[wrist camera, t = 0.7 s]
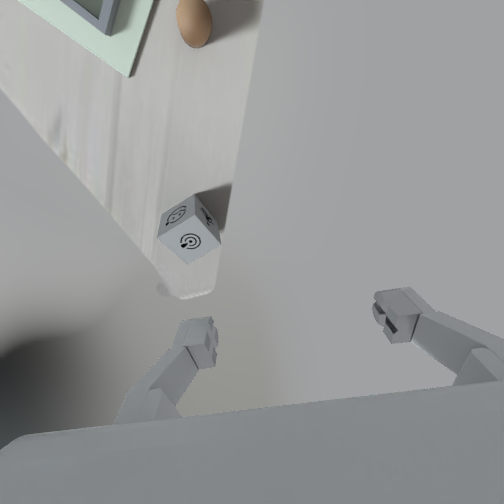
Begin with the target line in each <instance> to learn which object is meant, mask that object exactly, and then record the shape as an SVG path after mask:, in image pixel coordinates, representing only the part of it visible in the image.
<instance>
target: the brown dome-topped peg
mask: <svg viewBox="0 0 504 504" xmlns="http://www.w3.org/2000/svg"><path fill="white" fill-rule="evenodd" d="M176 16H177V23H178V26H179V29H180V32H181V35H182V37H183V39H184V41H185V42H186V43H187V44H188V45H189V46H190V47H192V48H201V47H202V46H204V45H205V43H206V41H207V40H208V38H209V36H210V33H211V30H212V17H211V13H210V10H209V8H208V6H207V4H206V3H205V2H204V0H180V1H179V3H178V6H177V13H176Z"/></svg>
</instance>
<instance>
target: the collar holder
mask: <svg viewBox="0 0 504 504" xmlns="http://www.w3.org/2000/svg"><path fill="white" fill-rule="evenodd" d="M18 1H19V2H21V3H22V4H23V5H25V6H26V7H28V8H29V9H31V10H32V11H33V12H35V13H36V14H38V15H39V16H40V17H42V18H43V19H45V20H46V21H48V22H49V23H50V24H52V25H53V26H55V27H56V28H57V29H59V30H60V31H62V32H63V33H65V34H66V35H67V36H69V37H70V38H72V39H73V40H74V41H76V42H77V43H79V44H80V45H82V46H83V47H84V48H86V49H87V50H89V51H90V52H91V53H93V54H94V55H96V56H97V57H99V58H100V59H101V60H103V61H104V62H106V63H107V64H108V65H110V66H111V67H113V68H114V69H116V70H117V71H118V72H120V73H121V74H123V75H124V76H126V77H127V78H129V76H130V73H131V70H132V67H133V64H134V61H135V58H136V55H137V52H138V49H139V46H140V43H141V40H142V37H143V34H144V31H145V27H146V24H147V21H148V18H149V15H150V12H151V9H152V6H153V3H154V0H18Z"/></svg>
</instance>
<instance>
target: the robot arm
mask: <svg viewBox="0 0 504 504" xmlns="http://www.w3.org/2000/svg"><path fill="white" fill-rule="evenodd" d="M374 299H375V300H376V302H375V303H374V304H373V308H372V310H373V315H374V317H375V320H376V321H377V323H378V324H380V325H381V326H383V327H384V330H383V332H384V333H385V335H386V336H387V338H388V339H389V341H390V342H391V344H392V343H393V344H394V343H403V342H411V343H412V344H413V345H415V346H417V347H418V348H419V349H421V350H422V351H424V352H425V353H427V354H428V355H429V356H431V357H433V358H434V359H435V360H437V361H438V362H440V363H441V364H443V365H444V366H446V367H447V368H449V369H450V370H451V371H453V372H454V373H456V374H457V377H456V378H455V380H454V382H453V385H452V386H447V387H439V388H430V389H421V390H413V391H404V392H396V393H387V394H378V395H369V396H360V397H352V398H343V399H335V400H326V401H317V402H309V403H300V404H292V405H283V406H274V407H265V408H257V409H248V410H240V411H231V412H222V413H213V414H205V415H196V416H188V417H182V416H181V415H180V413H179V412H178V411H177V409H176V408H175V406H176V404H177V403H178V401H179V400H180V398H181V397H182V395H183V393H184V392H185V391H186V389H187V387H188V386H189V384H190V383H191V381H192V380H193V378H194V377H195V375H196V374H197V372H198V369H204V368H210V367H215V364H216V357H217V353H216V351H215V349H216V347H217V346H218V332H217V328H216V327H215V326H213V322H214V321H213V319H212V317H203V318H194V319H187V320H182V322H180V325H179V328H178V331H177V334H176V337H175V340H174V343H173V347H172V349H168V351H167V352H166V353H165V354H164V355H163V356H162V357H161V358H160V359H159V360H158V361H157V362H156V363H155V364H154V365H153V366H152V367H151V368H150V369H149V370H148V371H147V372H146V373H145V374H144V375H143V376H142V377H141V378H140V379H139V380H138V381H137V383H136V384H135V385H134V386H133V387H132V388H131V389H130V390H129V391H128V392H127V395H126V397H125V399H124V402H123V404H122V406H121V408H120V411H119V413H118V415H117V418H116V420H115V422H114V424H113V425H109V426H101V427H92V428H83V429H75V430H66V431H57V432H48V433H39V434H30V435H25V436H22V437H19V438H17V439H16V440H14V441H12V442H11V443H10V444H8V445H7V446H6V447H4V448H3V449H2V450H0V504H504V339H502V338H500V337H498V336H495V335H493V334H490V333H488V332H486V331H484V330H481V329H479V328H477V327H475V326H472V325H470V324H468V323H465V322H463V321H461V320H458V319H456V318H453V317H451V316H449V315H447V314H445V313H442V312H440V311H438V312H436V311H435V310H434V309H433V308H432V307H431V306H430V305H429V304H428V303H427V302H426V301H425V300H424V299H423V298H422V297H421V296H420V295H419V294H417V293H416V291H414V290H413V289H412V288H411V287H404V288H398V289H391V290H384V291H378V292H376V293H375V294H374Z"/></svg>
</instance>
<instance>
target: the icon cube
mask: <svg viewBox="0 0 504 504" xmlns="http://www.w3.org/2000/svg"><path fill="white" fill-rule="evenodd" d="M157 239H159V240H160V241H161V242H162V243H163V244H164V245H166V246H167V247H168V248H169V249H170V250H171V251H172V252H174V253H175V254H176V255H177V256H178V257H179V258H180V259H182V260H183V261H184V262H185V263H186V264H189V263H191V262H192V261H194V260H196V259H198V258H199V257H201V256H203V255H205V254H206V253H208V252H210V251H212V250H213V249H215V248H217V247H218V246H220V245H221V240H220V234H219V228H218V222H217V221H216V220H215V219H214V217H213V216H212V215H211V214H210V212H209V211H208V210H207V209H206V208H205V206H204V205H203V204H202V203H201V201H200V200H199V199H198V198H197V196H196V195H195V194H194V195H192V196H190V197H189V198H187V199H186V200H184V201H183V202H181V203H179V204H178V205H176V206H175V207H173V208H172V209H170V210H168V211H167V212H165V213H164V214H162V216H161V221H160V226H159V231H158V235H157Z"/></svg>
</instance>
